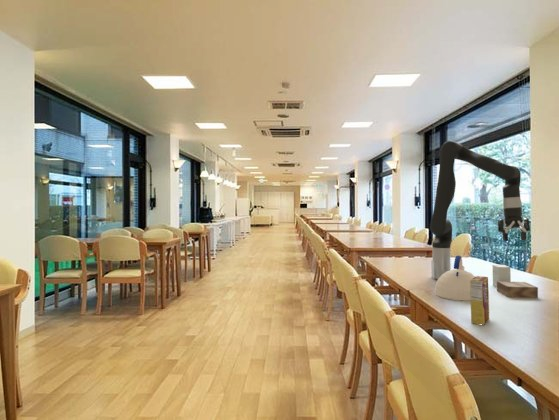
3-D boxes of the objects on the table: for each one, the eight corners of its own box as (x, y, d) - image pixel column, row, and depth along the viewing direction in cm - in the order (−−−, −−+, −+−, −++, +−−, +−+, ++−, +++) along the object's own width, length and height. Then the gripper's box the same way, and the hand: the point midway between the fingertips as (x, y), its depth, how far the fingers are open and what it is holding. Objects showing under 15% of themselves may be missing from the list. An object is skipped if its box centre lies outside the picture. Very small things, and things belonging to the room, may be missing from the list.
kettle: (485, 293, 177) (485, 254, 176) (482, 303, 159) (482, 260, 158) (438, 288, 187) (437, 251, 187) (431, 297, 169) (430, 257, 169)
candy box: (476, 317, 139) (476, 275, 139) (489, 319, 136) (489, 276, 136) (469, 323, 132) (469, 279, 132) (483, 325, 129) (483, 280, 129)
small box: (510, 289, 184) (510, 267, 184) (498, 288, 185) (498, 266, 185) (504, 285, 192) (504, 264, 192) (492, 285, 193) (492, 264, 193)
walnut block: (507, 298, 168) (507, 286, 168) (497, 291, 180) (497, 281, 180) (537, 298, 166) (537, 287, 166) (524, 292, 178) (524, 281, 178)
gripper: (521, 206, 189) (523, 239, 188) (493, 208, 188) (495, 241, 187) (532, 205, 181) (534, 240, 181) (502, 207, 181) (505, 241, 180)
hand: (514, 240), depth 184 cm, fingers open, 8 cm apart
